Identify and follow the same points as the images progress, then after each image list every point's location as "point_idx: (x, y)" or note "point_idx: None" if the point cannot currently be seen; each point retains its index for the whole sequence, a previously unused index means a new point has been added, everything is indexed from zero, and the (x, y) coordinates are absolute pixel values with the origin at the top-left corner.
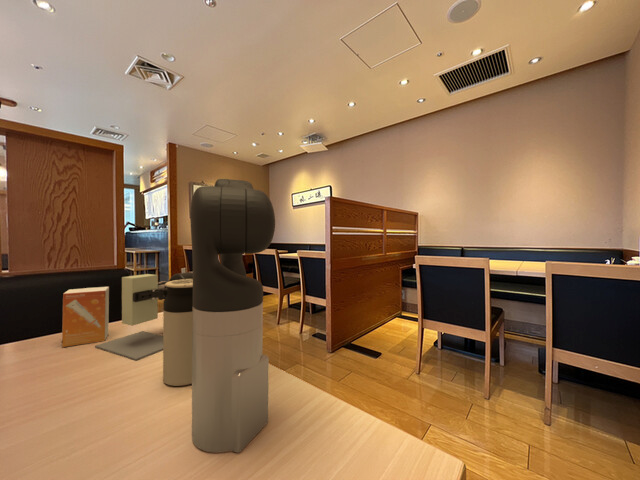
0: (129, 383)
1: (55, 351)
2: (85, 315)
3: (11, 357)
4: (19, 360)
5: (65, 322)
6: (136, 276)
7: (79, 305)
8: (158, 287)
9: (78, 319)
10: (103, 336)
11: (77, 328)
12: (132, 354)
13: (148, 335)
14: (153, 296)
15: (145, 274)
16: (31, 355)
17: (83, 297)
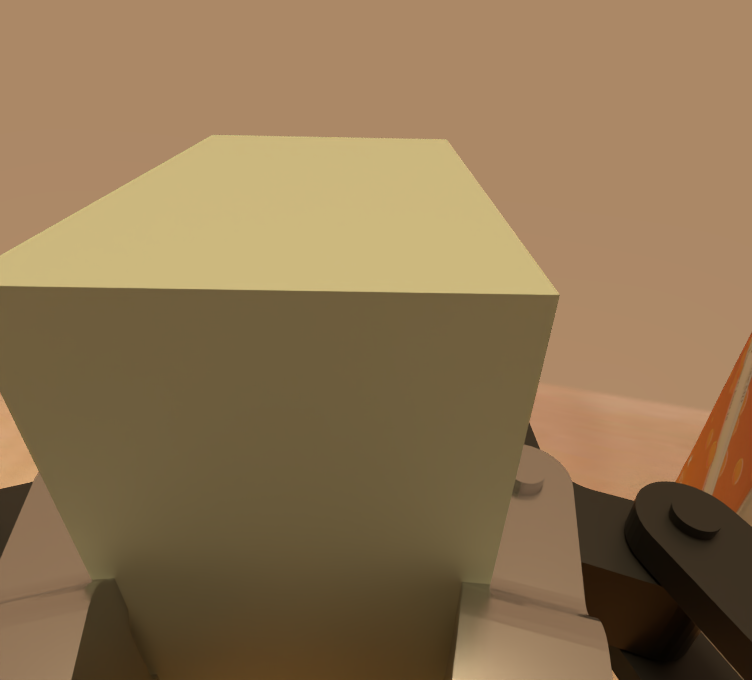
0: (30, 462)
1: (625, 483)
2: (720, 452)
3: (661, 411)
4: (601, 412)
5: (709, 417)
6: (334, 166)
7: (750, 369)
8: (70, 589)
9: (712, 446)
10: None
11: (689, 485)
12: None
13: None
14: None
15: (484, 252)
16: (636, 437)
17: None
